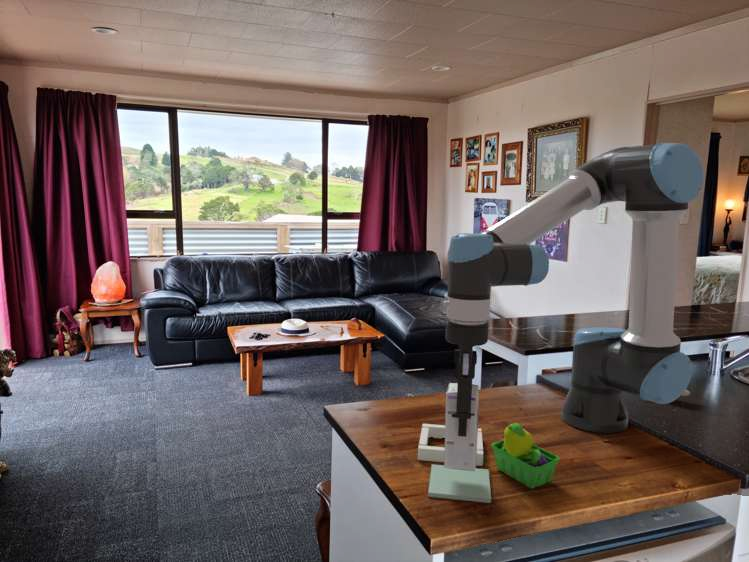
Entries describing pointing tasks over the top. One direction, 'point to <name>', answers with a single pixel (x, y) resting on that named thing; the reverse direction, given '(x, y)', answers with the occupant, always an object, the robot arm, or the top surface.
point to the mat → (460, 484)
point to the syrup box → (454, 458)
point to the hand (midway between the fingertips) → (461, 443)
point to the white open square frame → (438, 452)
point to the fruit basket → (524, 457)
